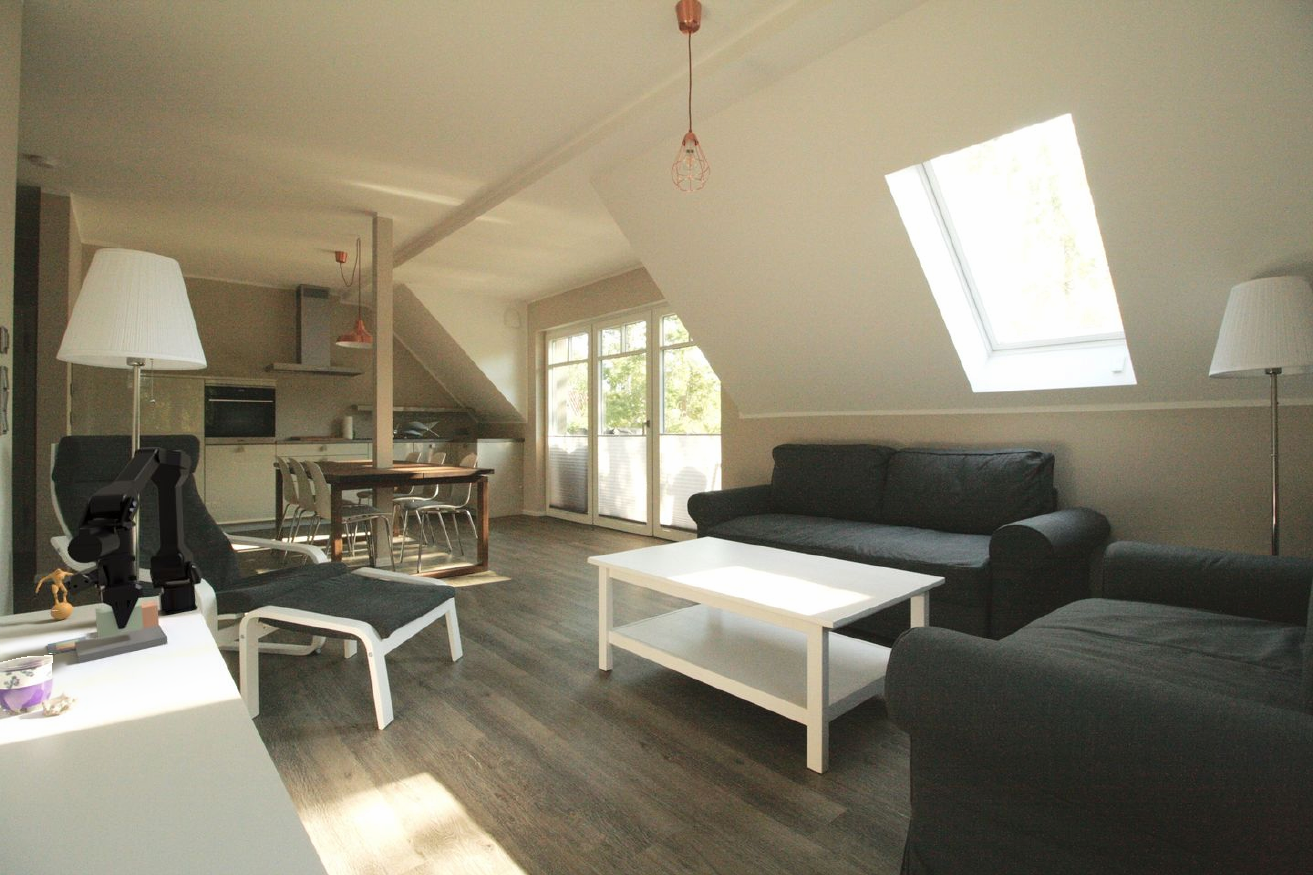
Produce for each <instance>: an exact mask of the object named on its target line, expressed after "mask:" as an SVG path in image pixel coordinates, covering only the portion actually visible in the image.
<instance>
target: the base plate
mask: <svg viewBox="0 0 1313 875" xmlns="http://www.w3.org/2000/svg"><path fill="white" fill-rule="evenodd" d="M166 643H167V644H168V636H167V635H166V633H165V631H164V630H163V629H162V627H161V625H160V624H159V625H156V626H151V627H146V628H143V629H141V630H136V631H131V632H126V633H121V634H116V635H111V636H106V637H102V638H99V636H98V637H92V638H88V639H87V638H86V640H82V641H77V642H75V650H74V651H75V655H76V659H77V662H78V664H80V663H79V662H82V663H87V662H91V661H95V660H99V659H100V660H101V659H104V658H108V657H109V658H110V657H113V656H118V655H122V653H123V654H127V653H132V652H136V651H140V650H145V649H149V647H150V648H155V647H159V646H163V644H164V645H167V644H166ZM158 645H159V646H158ZM154 646H155V647H154ZM126 652H127V653H126Z"/></svg>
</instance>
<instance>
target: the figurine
mask: <svg viewBox="0 0 1313 875" xmlns="http://www.w3.org/2000/svg"><path fill="white" fill-rule="evenodd" d="M73 574H74V573H71V572H68V571H63V570H62V569H61V568H56V570H55V571H54V572H52V573H50V574H48V575H47V576H45V577H42V578H41V579H39V580H40V581H39V583H38V584H37V587H36V589H35V593H36V594H37V593H39V591H40V589H39V588H40V587H41V585H42V584H43V582H44V581H46V580H49V579H52V580H53V582H54V584H51V589H52V593H53V598H55V600H54V601H55V604H54V605H53V606H52V608H51V609H50V616H51V617H52V618H53V619H55V620H58V621H59V620H61V621H62V620H65V619H67V618H69V617H70V616H71V615H72V614H73V612H74V607H73V605H72V604H71V603H69V602H68V601H67V598H66V596H67V595H68V592H67V590H66V589H65V587H64V585H63V584H62V581H61V580H62V579H64V578H66V577H65V576H67V577H68V576H70V575H73ZM59 589H61V591H62V592H63V594H62V600H63V601H62V602H60V601H59V598H58V596H59V595H58V594H57V593H58V592H59ZM52 610H58V611H52Z"/></svg>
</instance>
